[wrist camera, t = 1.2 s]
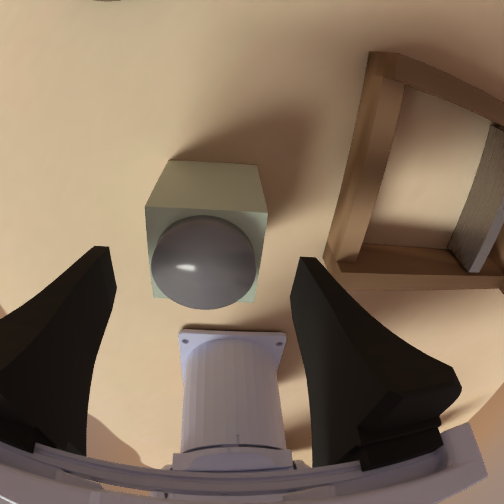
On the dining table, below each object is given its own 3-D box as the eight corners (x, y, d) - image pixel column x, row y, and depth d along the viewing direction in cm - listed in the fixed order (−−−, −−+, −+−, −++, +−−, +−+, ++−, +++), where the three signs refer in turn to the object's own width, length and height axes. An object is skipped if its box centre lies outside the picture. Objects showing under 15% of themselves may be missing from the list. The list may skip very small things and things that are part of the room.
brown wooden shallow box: (488, 265, 21) (512, 296, 18) (322, 257, 19) (340, 302, 16) (540, 132, 14) (576, 153, 11) (369, 51, 12) (410, 54, 9)
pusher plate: (486, 250, 20) (506, 273, 18) (447, 246, 19) (468, 272, 17) (527, 144, 15) (554, 161, 12) (490, 125, 14) (521, 141, 12)
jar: (247, 238, 18) (255, 315, 13) (169, 234, 18) (150, 310, 13) (256, 164, 16) (270, 224, 11) (168, 160, 15) (139, 217, 10)
